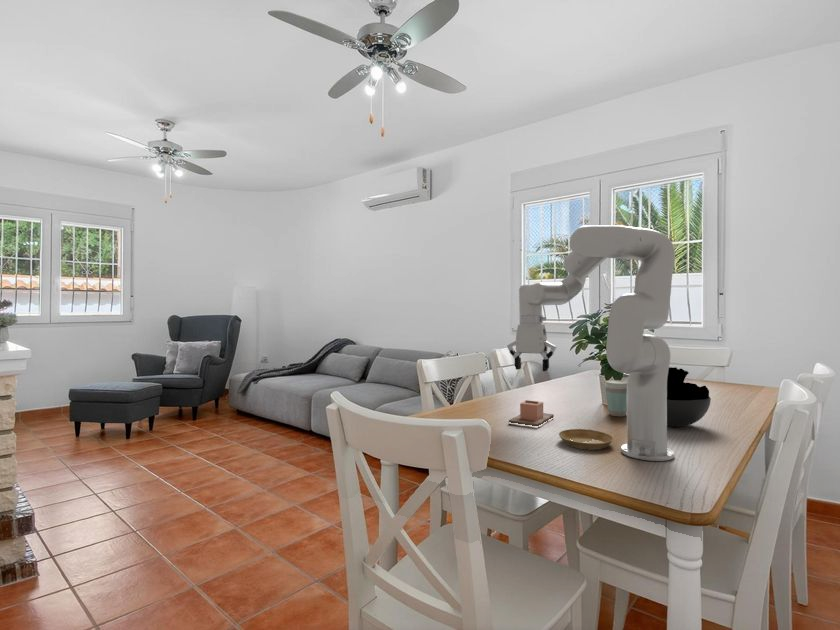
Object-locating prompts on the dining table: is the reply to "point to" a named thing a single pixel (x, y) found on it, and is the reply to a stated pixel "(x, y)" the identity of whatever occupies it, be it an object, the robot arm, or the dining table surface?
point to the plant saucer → (585, 438)
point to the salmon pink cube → (531, 410)
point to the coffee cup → (616, 397)
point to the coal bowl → (685, 399)
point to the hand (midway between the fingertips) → (531, 370)
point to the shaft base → (531, 420)
